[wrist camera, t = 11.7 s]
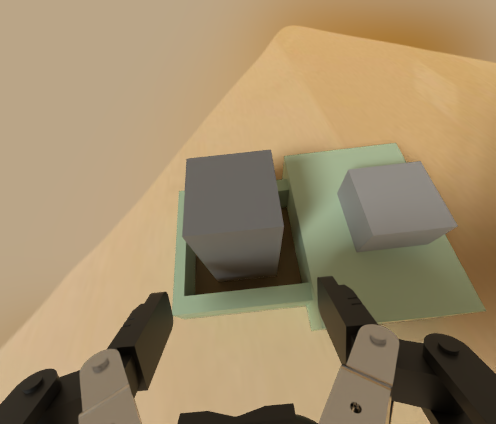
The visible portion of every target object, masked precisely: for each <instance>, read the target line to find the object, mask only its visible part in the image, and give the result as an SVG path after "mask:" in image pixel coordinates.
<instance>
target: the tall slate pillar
mask: <svg viewBox="0 0 496 424" xmlns="http://www.w3.org/2000/svg"><path fill="white" fill-rule="evenodd" d="M283 230H284V223H283V218H282V212H281V206H280V200H279V194H278V188H277V182H276V176H275V170H274V165H273V159H272V153H271V150H263V151H254V152H245V153H236V154H227V155H217V156H208V157H199V158H190V159H187V162H186V179H185V196H184V213H183V230H182V237H183V239H184V240H185V241H186V242H187V244H188V245H189V246H190V247H191V249H192V250H193V251H194V252H195V254H196V255H197V256H198V257H199V259H200V260H201V261H202V262H203V264H204V265H205V266H206V267H207V269H208V270H209V271H210V272H211V274H212V275H213V276H214V277H215V279H216V280H217V281H218V282H224V281H234V280H244V279H255V278H265V277H275V276H277V269H278V263H279V256H280V250H281V243H282V236H283Z"/></svg>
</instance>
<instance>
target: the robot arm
mask: <svg viewBox="0 0 496 424" xmlns="http://www.w3.org/2000/svg"><path fill="white" fill-rule="evenodd" d="M317 296H318V308H319V312H320V315H321V318H322V320H323V322H324V324H325V327H326V329H327V331H328V334H329V336H330V338H331V340H332V343H333V345H334V347H335V350H336V352H337V354H338V356H339V359H340V361H341V363H342V365H341V367H340V369H339V372H338V374H337V377H336V380H335V382H334V385H333V387H332V390H331V392H330V395H329V398H328V400H327V403H326V405H325V408H324V410H323V413H322V416H321V418H320V421H319V423H316V422H315V421H313V420H311V419H309V418H306V417H304V416H301V415H296V414H295V410H294V405H293V404H282V405H271V406H264V407H261V408H259V409H256V410H253V411H251V412H248V413H246V414H243V415H240V416H237V417H233V416H228V415H224V414H219V413H214V412H210V411H203V412H192V413H181V414H180V416H179V420H178V424H391V420H392V413H393V406H394V401H396V402H400V403H405V404H409V405H413V406H417V407H421V408H422V410H423V412H424V413H425V415H426V416H427V418H428V420H429V421H430V423H431V424H496V374H495V373H494V372H493V371H492V370H491V369H490V368H489V367H488V366H487V365H486V364H485V363H484V362H483V361H482V360H481V359H480V358H479V357H478V356H477V355H476V354H475V353H474V352H473V351H472V350H471V349H470V348H469V347H468V346H467V345H465V344H464V343H463V342H461V341H459V340H457V339H455V338H453V337H451V336H448V335H444V334H437V333H434V334H429V335H427V336H426V337H425V338H424V344H423V343H417V342H411V341H405V340H401V339H398V338H397V336H396V335H395V334H394V333H393V332H392V331H391V330H389V329H387V328H385V327H383V326H380V325H378V324H377V322H376V321H375V319H374V318H373V317H372V315H371V314H370V313H369V311H368V310H367V309H366V307H365V306H364V304H362V302H361V300H360V299H359V298H358V296H357V295H356V294H355V292H354V291H353V290H352V289H351V288H349V287H348V286H346V285H345V284H344V285H338V283H337V282H336V280H335V279H334V277H333V276H324V277H318V278H317ZM172 327H173V315H172V310H171V306H170V302H169V297H168V294H167V292H159V293H151V294H150V295H149V297H148V299H147V300H146V302H145V303H144V304H140V305H139V306H138V307H137V308H136V309H134V310H133V311H132V313H131V314H130V316H129V317H128V319H127V321H126V322H125V323H124V325H123V327H121V329H120V330H119V332H118V333H117V335H116V336H115V338H114V339H113V341H112V342H111V344H110V345H109V347H108V348H107V350H103V351H101V352H99V353H97V354H95V355H93V356H92V357H91V358H89V359H88V360H87V361H86V362H85V363H84V365H83V366H82V368H81V370H79V371H76V372H73V373H71V374H68V375H65V376H62V377H59V376H58V374H57V372H56V370H54V369H45V370H41V371H39V372H36V373H34V374H33V375H31V376H29V377H28V378H26V379H25V380H23V381H22V382H21V383H20V384H19V385H17V386H16V387H15V389H14V390H13V391H12V392H11V393H10V394H9V395H8V396H7V398H6V399H5V400H4V401H3V402H2V403H1V404H0V424H142V422H141V419H140V416H139V413H138V409H137V406H136V403H135V400H134V397H135V395H136V393H137V391H143V390H148V388H149V385H150V383H151V380H152V378H153V375H154V373H155V370H156V368H157V365H158V363H159V360H160V358H161V355H162V353H163V350H164V348H165V345H166V343H167V340H168V338H169V335H170V333H171V330H172Z"/></svg>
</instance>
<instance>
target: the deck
mask: <svg viewBox="0 0 496 424" xmlns="http://www.w3.org/2000/svg"><path fill="white" fill-rule="evenodd" d="M276 182H277V188H278V194H279V200H280V206H281V207H287V211H288V216H289V221H290V226H291V231H292V236H293V241H294V246H295V251H296V256H297V261H298V266H299V271H300V276H301V281H302V283H301V284H292V285H282V286H273V287H264V288H255V289H246V290H237V291H228V292H219V293H209V294H200V295H195V269H196V254H195V252H194V251H193V250H192V249H191V247H190V246H189V245H188V244H187V242H186V241H185V240H184V239H183V237H182V230H183V213H184V196H185V191H179V202H178V219H177V237H176V254H175V272H174V289H173V306H172V315H173V316H175V317H179V318H182V319H191V318H201V317H210V316H219V315H228V314H238V313H247V312H256V311H265V310H275V309H284V308H293V307H302V306H307V311H308V316H309V321H310V326H311V331H317V330H327V329H326V327H325V324H324V322H323V320H322V318H321V315H320V312H319V308H318V296H317V278H318V277H324V276H333V277H334V279H335V280H336V282H337V283H338V285H344V284H345V285H346V286H348V287H349V288H351V289H352V290H353V291H354V292H355V294H356V295H357V296H358V298H359V299H360V300H361V302H362V304H364V306H365V307H366V309H367V310H368V311H369V313H370V314H371V315H372V317H373V318H374V319H375V321H376V322H377V324H383V323H392V322H402V321H411V320H420V319H430V318H439V317H447V316H454V315H462V314H469V313H476V312H483V311H486V309H485V307H484V306H483V304H482V302H481V300H480V298H479V296H478V294H477V293H476V291H475V289H474V287H473V285H472V283H471V281H470V280H469V278H468V276H467V274H466V272H465V270H464V268H463V267H462V265H461V263H460V261H459V259H458V257H457V255H456V254H455V252H454V250H453V248H452V246H451V244H450V242H449V241H448V239H447V237H446V235H445V234H446V233H448V232H449V231H451V230H453V229H454V228H456V227H458V225H457V224H456V222H455V220H454V218H453V217H452V215H451V213H450V211H449V210H448V208H447V206H446V204H445V203H444V201H443V199H442V198H441V196H440V194H439V192H438V191H437V189H436V187H435V185H434V184H433V182H432V180H431V179H430V177H429V175H428V173H427V172H426V170H425V168H424V166H423V165H422V163H421V161H418V162H409V163H406V161H405V159H404V157H403V155H402V153H401V152H400V150H399V148H398V146H397V144H396V143H391V144H383V145H374V146H366V147H357V148H349V149H340V150H332V151H323V152H314V153H306V154H297V155H289V156H284V165H283V175H282V179H281V180H276Z"/></svg>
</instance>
